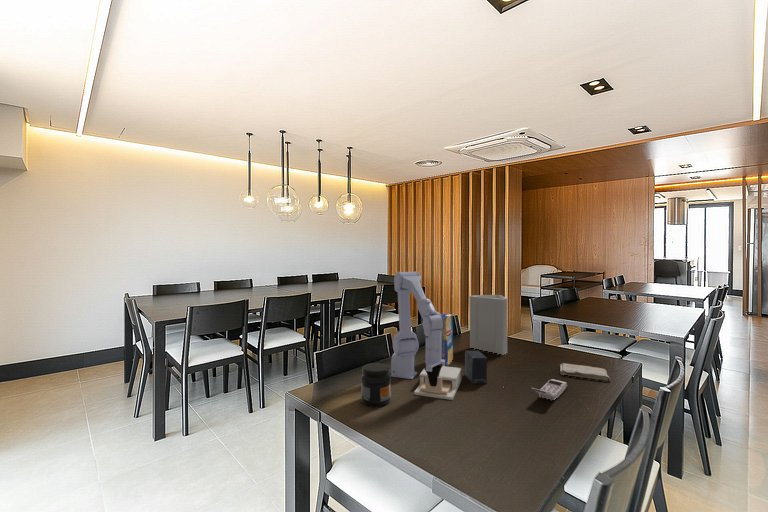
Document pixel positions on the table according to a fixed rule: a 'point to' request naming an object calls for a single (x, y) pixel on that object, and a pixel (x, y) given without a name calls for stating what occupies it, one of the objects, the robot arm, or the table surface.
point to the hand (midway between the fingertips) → (433, 385)
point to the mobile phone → (552, 389)
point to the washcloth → (583, 371)
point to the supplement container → (375, 384)
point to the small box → (476, 367)
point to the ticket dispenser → (446, 374)
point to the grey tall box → (488, 323)
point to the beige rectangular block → (437, 386)
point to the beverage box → (447, 339)
